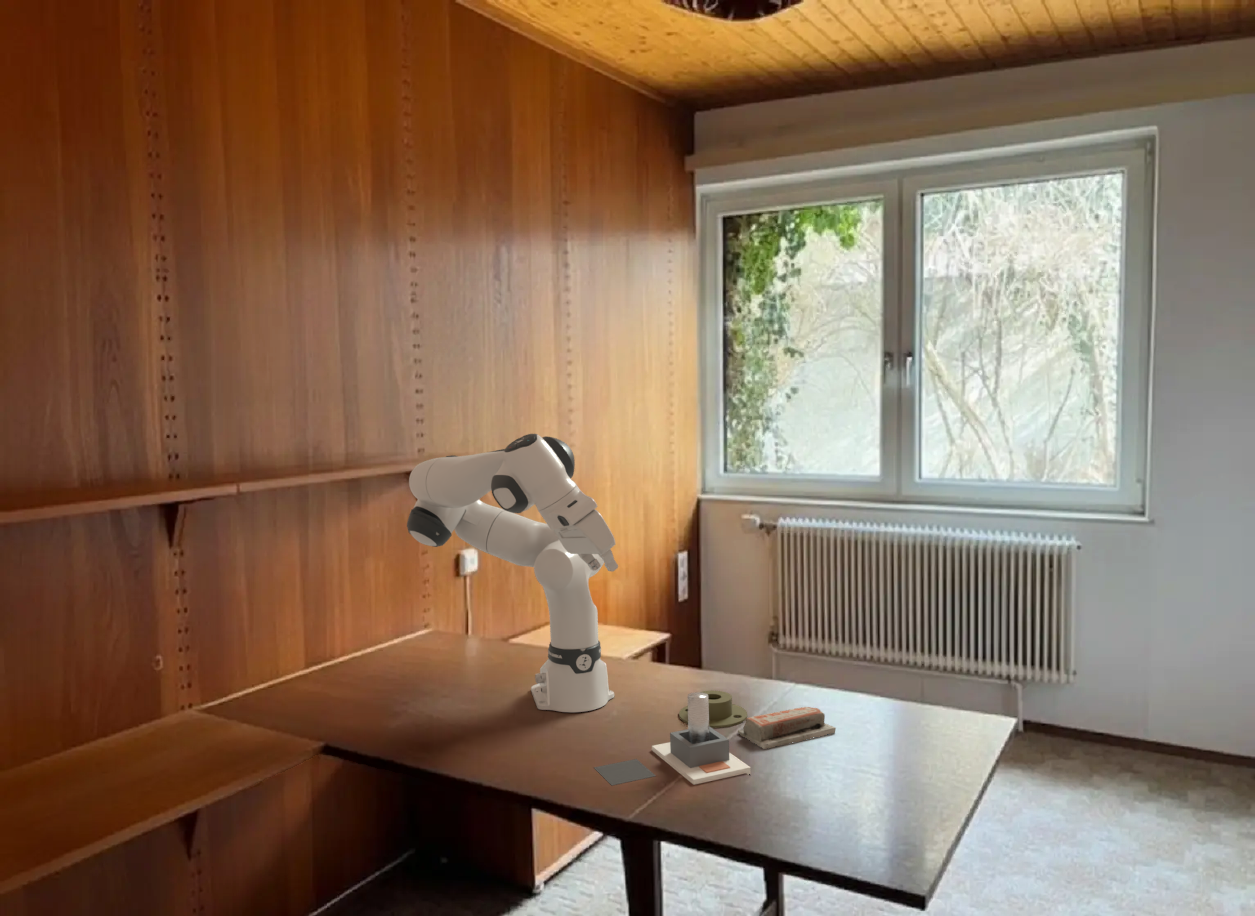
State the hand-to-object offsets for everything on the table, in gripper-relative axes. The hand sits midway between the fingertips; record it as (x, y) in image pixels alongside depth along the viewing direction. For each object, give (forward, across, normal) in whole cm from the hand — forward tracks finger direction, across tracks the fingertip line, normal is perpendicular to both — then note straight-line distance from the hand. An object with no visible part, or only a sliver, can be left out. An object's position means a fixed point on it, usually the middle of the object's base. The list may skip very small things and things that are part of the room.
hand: (605, 569), depth 181 cm
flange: (+46, -19, +7) cm, 51 cm away
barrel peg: (+40, +3, -6) cm, 41 cm away
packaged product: (+53, -3, +14) cm, 55 cm away
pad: (+34, +1, -20) cm, 39 cm away
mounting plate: (+41, +3, -7) cm, 42 cm away
